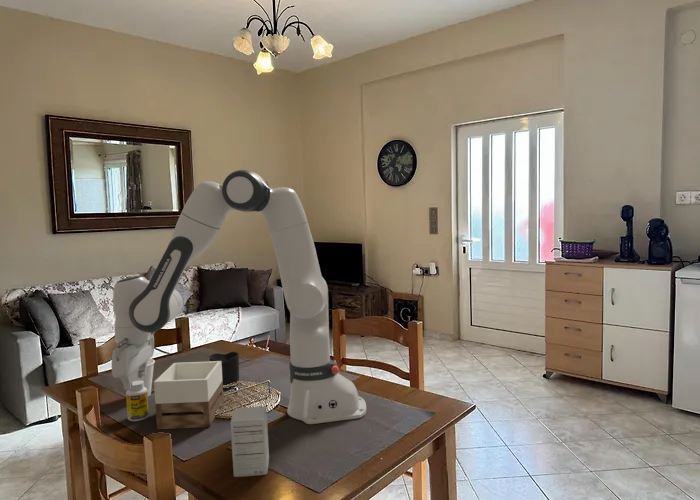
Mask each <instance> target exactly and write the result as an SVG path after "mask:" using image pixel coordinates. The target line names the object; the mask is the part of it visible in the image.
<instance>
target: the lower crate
mask: <svg viewBox="0 0 700 500" xmlns="http://www.w3.org/2000/svg"><path fill="white" fill-rule="evenodd" d="M223 399H224V389H223V381H222V382H221V384H220V385H219V387H218V388H217V390H216V391H215V393H214V394H213V396H212V397H211V399H210V400H209V402H187V403H163V404H155V416H156V417H155V418H156V430H169V429H171V430H173V429H190V428H191V429H192V428H193V429H194V428H211V426H212V424H213V423H214V421H215V419H216V418H215V412H216V411H217V409H218V408H219V406H220V404H221V402H222V401H223ZM224 400H225V399H224ZM201 411H204V413H203V412H201ZM214 418H215V419H214ZM213 420H214V421H213ZM212 422H213V423H212Z"/></svg>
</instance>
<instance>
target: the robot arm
mask: <svg viewBox="0 0 700 500" xmlns="http://www.w3.org/2000/svg"><path fill="white" fill-rule="evenodd" d="M234 210H236V211H238V212H239V211H240V212H243V213H253V212H259V213H260V214H261V215H262V216H263V217H264V220H265V222H266V225H267V229H268V232H269V236H270V240H271V243H272V246H273V250H274V254H275V258H276V262H277V265H278V266H277V267H278V272H279V277H280V282H281V286H282V291H283V296H284V300H285V304H286V306H287V309H288V310H289V315H290V316H289V317H290V318H289V346H290V347H289V349H290V350H289V351H290V352H289V353H290V362H289V366H288V375H289V381H290V382H289V383H290V393H289V395H290V396H289V401H288V406H287V410H286V413H287V414H288V416H289V417H291V418H293V419H296V420H298V421H299V420H300V421H302V422H304V423H305V424H307V425H315V424H322V423H323V424H324V423H330V422H331V423H332V422H338V421H347V420H355V419H360V418H362V417H364V416H365V415H366V413H367V403H366V401H365V399H364V398H363V397H362V396H359V393H358V390H357V387H356V385H355V384H354V382H352V381H351V380H350V379H348V378H346V377H345V376H343V375H342V374H340V373H339V372H340V367H339V365H338V363H337V361H336V359H334V360H333V359H331V357H330V356H331V355H330V353H331V352H330V351H331V350H330V326H329V325H330V321H329V320H330V319H329V288H328V284H327V281H326V280H325V279H324V277H323V275H322V272H321V267H320V264H319V259H318V255H317V250H316V246H315V242H314V239H313V235H312V232H311V229H310V225H309V222H308V218H307V215H306V211H305V209H304V207H303V203H302V202H301V200H300V197H299V196H298V194H297V192H296V191H295V190H294V189H292V188H290V187H287V186H286V187H284V186H282V187H280V186H279V187H276V188H275V187H274V188H271V187H270V185H269V184H268V182H267V181H266V179H264V178H263V177H262V176H260V175H259V174H258V173H256V172H254V171H251V170H250V171H249V170H246V169H238V170H235V171H233V172H231V173H229V174H227V176H226V178H225V179H224V180H223V181H222V184H221V183H218V182H215V181H211V180H205V181H201V182H199V183H198V184H197V185H196V187H195V188H194V189H193V190H192V193H191V194H190V195H189V197H188V199H187V201H186V203H185V204H184V206H183V209H182V210H181V213H180V215H179V217H178V219H177V222H176V225H175V228H174V229H173V232H172V235H171V238H170V239H169V243H168V245H167V246H166V249H165V251H164V253H163V254H162V256H161V259H160V261H159V263H158V265H157V267H156V269H155V271H154V273H153V274H152V276H151V278H150V279H149V280H148V279H147V278H146V277H145V276H142V275H134V276H129V277H126V278H122V279H119V280H118V281H117V282H115V284H114V286H113V293H112V295H113V296H112V308H113V313H114V316H115V320H114V325H113V326H114V341H115V343H116V347H115V348H114V349H113V350H112V354H111V375H112V378H114V379H120V380H121V383H122V384H123V390H125V391H127V390H130V389H131V388H132V382H131V381H130V377H131V373H132V372H133V371H135V370H136V369H137V368H138V367H139V371H138V378H143V377H144V376H146V367H147V360H148V359H152V357H153V356H154V352H155V337H154V336H155V335H154V334H155V333H156V332H158V331H160V330H161V329H163V328H164V327H165V326H166V325H167V324H168V323H169V322H171V321H172V320H174V319H175V318H176V317H177V316H179V315H181V312H182V311H183V309H184V298H183V296H182V294H181V292H180V291H179V290H178V289H176V287H177V286H178V283H179V281H180V279H181V277H182V275H183V273H184V272H185V270H186V269H187V268H188V266H189V265H190V264H191V263H192V262H193V261H194V260H195V259H197V257H199V256H200V255H202V254H203V253H204V252H206V251H207V250H208V249H209V248H210V247H211V245H212V244H213V243H214V241H215V240H216V237H217V236H218V233H219V232H220V230H221V227H222V225H223V224H224V222H225V219H226V217H227V215H228V214H229V213H230V212H232V211H234Z"/></svg>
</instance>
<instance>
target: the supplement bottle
mask: <svg viewBox="0 0 700 500" xmlns="http://www.w3.org/2000/svg"><path fill="white" fill-rule="evenodd" d="M125 391H126V392H125V398H126V399H125V400H126V412H127V413H126V416H127V420H128V421H130V422H139V421H143V420H146V419H147V418H148V417H149V415H150V412H149V397H148V393H147V388H146V387H144V382H143V381H133V382H132V388H131V389H130V390H125Z"/></svg>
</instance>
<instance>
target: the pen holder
mask: <svg viewBox="0 0 700 500" xmlns="http://www.w3.org/2000/svg"><path fill="white" fill-rule="evenodd" d="M239 354H240V353H238V351H231V352H228V353H218V352H217V353H212V354H210V356H209V357H208V358H209V361H221V363H222V380H223V385H227V384H230V383H233V382H237V381H239V382H240V355H239Z"/></svg>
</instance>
